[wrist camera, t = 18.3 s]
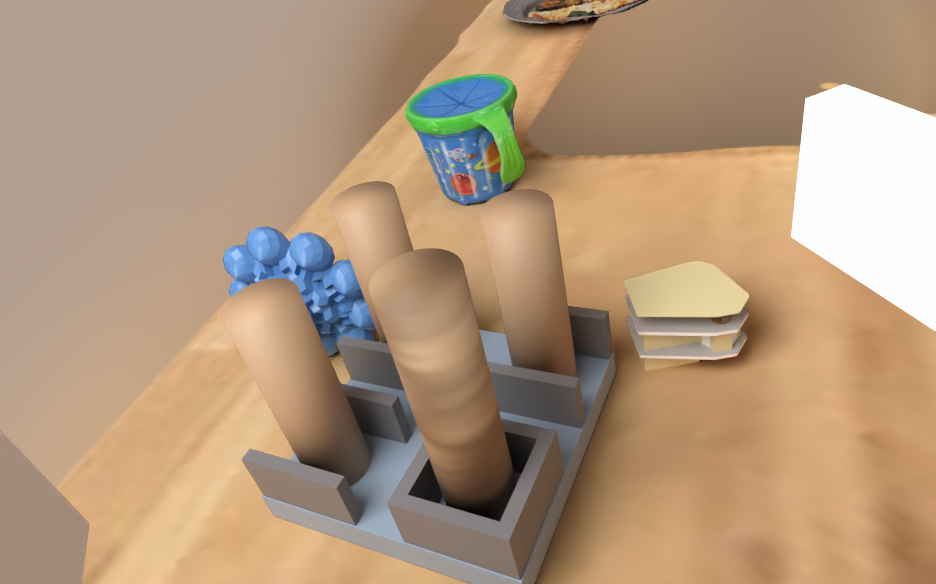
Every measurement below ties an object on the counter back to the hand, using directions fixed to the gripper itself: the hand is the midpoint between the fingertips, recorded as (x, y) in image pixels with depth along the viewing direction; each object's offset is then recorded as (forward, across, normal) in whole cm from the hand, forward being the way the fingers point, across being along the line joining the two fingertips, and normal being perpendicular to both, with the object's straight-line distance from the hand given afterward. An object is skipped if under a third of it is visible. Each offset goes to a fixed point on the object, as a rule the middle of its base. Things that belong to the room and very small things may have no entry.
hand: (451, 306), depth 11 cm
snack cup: (+52, +14, -28) cm, 61 cm away
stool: (+22, +1, -27) cm, 35 cm away
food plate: (+97, +49, -29) cm, 113 cm away
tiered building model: (+21, +18, -28) cm, 39 cm away
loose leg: (+14, +1, -25) cm, 29 cm away
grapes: (+34, -6, -28) cm, 44 cm away
